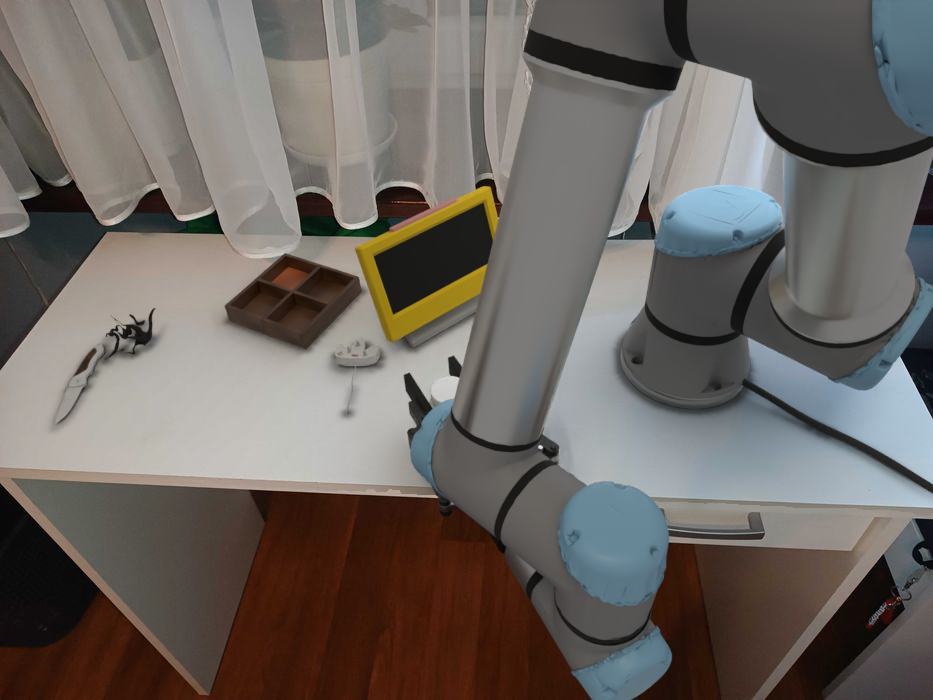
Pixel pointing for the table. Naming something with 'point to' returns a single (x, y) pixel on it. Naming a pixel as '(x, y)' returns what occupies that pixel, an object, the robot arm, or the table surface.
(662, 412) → the table surface
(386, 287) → the yellow framed monitor
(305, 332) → the grid
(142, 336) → the creature
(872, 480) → the table surface
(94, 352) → the pocket knife
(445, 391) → the pill bottle
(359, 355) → the game controller
